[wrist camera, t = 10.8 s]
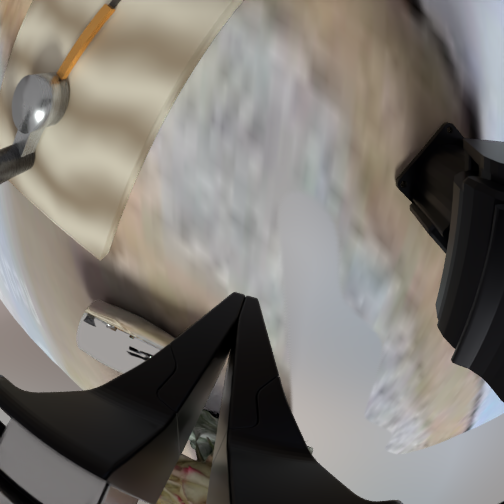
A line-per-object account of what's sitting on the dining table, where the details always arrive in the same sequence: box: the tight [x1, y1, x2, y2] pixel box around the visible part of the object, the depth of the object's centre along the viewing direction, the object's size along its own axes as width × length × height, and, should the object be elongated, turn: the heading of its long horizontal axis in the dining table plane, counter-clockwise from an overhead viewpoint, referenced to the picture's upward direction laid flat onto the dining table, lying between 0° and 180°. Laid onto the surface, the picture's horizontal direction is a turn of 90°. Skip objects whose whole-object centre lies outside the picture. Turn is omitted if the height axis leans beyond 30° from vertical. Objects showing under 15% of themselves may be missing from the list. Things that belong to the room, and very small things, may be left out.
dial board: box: [0, 0, 244, 261], centre depth 17 cm, size 26×22×2 cm
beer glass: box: [77, 300, 175, 374], centre depth 28 cm, size 7×7×15 cm
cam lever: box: [0, 4, 115, 184], centre depth 12 cm, size 18×5×11 cm, turn 131°
